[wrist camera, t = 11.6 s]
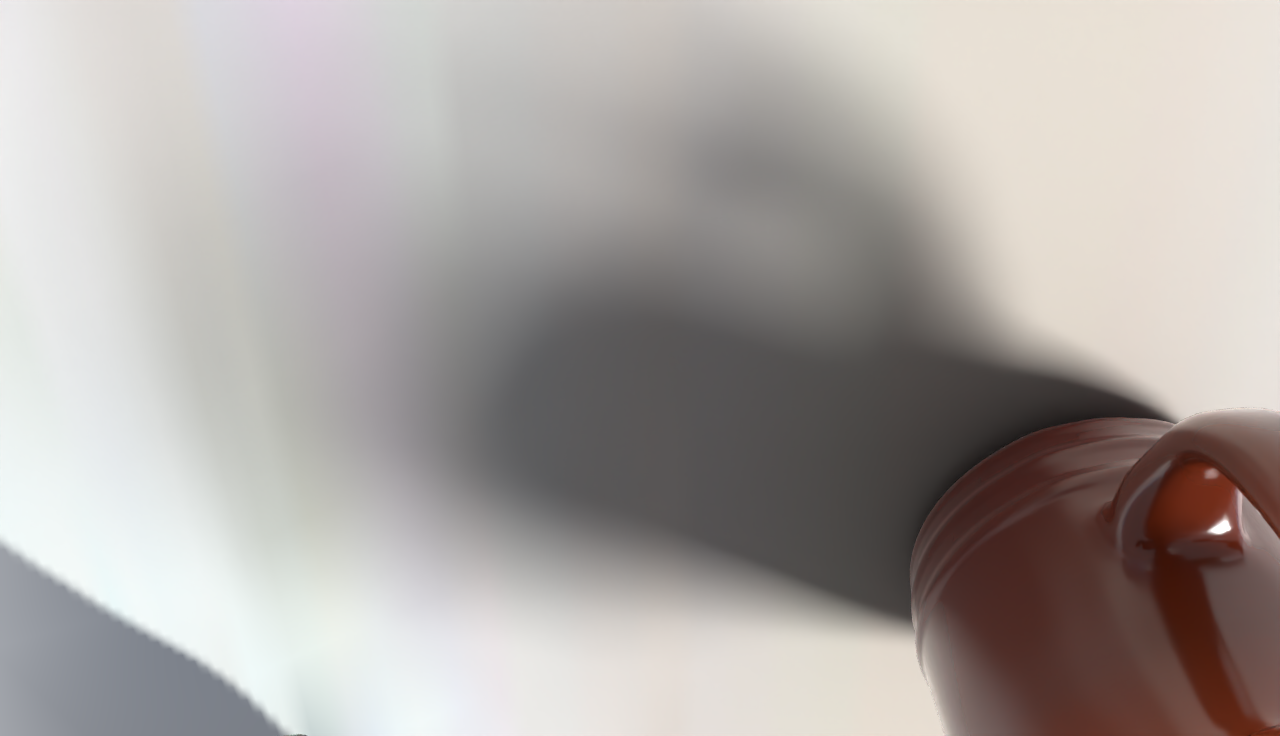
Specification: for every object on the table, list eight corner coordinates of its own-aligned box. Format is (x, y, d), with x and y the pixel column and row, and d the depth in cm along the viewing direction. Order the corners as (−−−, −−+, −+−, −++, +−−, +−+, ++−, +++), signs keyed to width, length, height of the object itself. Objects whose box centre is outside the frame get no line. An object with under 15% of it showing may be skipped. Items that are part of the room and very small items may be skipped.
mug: (1228, 652, 28) (1510, 1135, 20) (852, 685, 28) (976, 1184, 20) (1375, 187, 21) (1903, 632, 13) (875, 231, 21) (1082, 706, 13)
